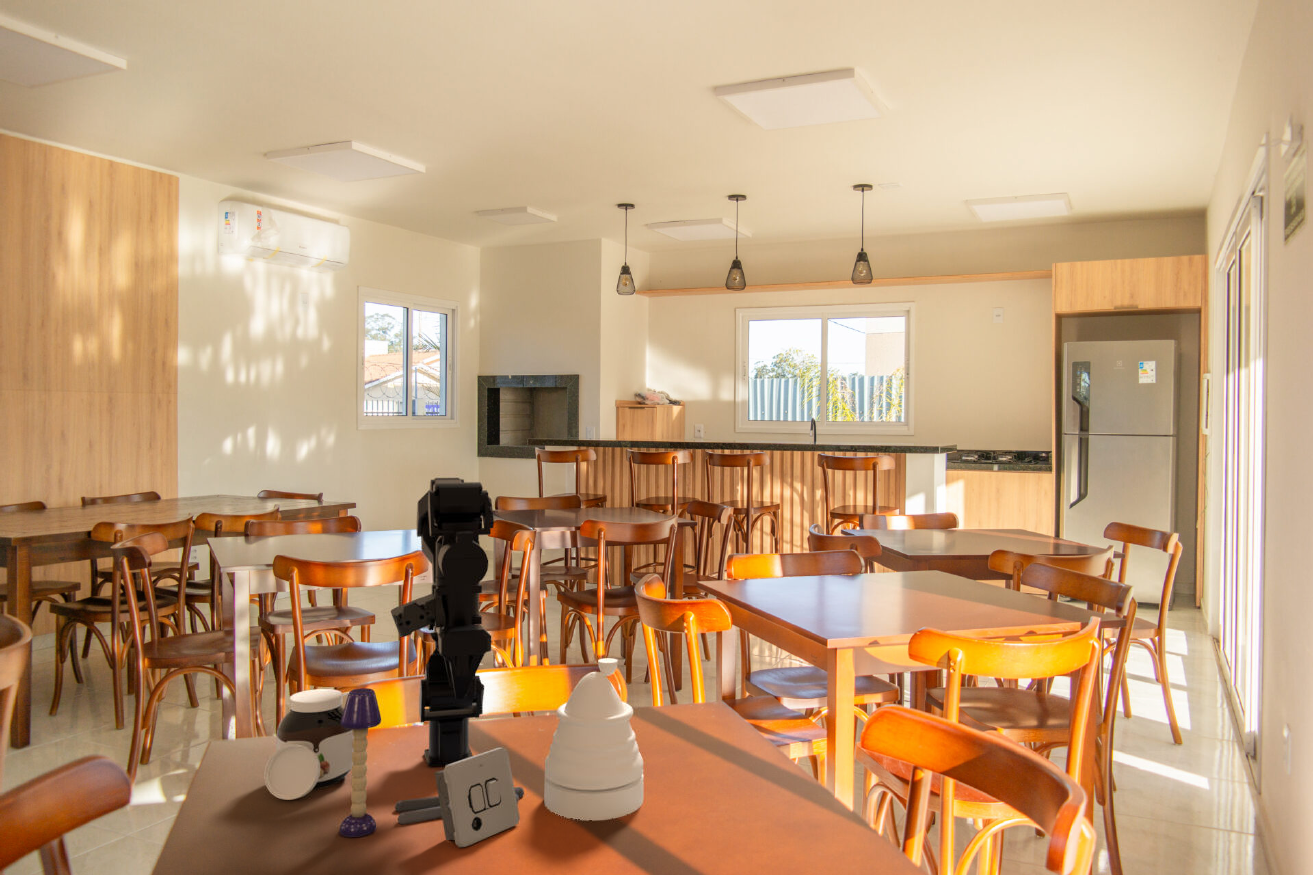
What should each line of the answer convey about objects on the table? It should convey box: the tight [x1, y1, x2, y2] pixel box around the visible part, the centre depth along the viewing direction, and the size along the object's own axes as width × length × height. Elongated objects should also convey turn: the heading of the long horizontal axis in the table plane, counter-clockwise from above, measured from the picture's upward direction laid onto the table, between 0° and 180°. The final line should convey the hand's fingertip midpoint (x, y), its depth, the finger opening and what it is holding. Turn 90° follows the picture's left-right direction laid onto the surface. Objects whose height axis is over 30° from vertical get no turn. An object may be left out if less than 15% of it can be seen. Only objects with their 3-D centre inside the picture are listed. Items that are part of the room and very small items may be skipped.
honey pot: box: [543, 657, 644, 822], centre depth 122 cm, size 13×13×18 cm
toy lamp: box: [339, 687, 382, 838], centre depth 113 cm, size 5×5×17 cm
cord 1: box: [394, 786, 525, 813], centre depth 121 cm, size 1×16×1 cm, turn 109°
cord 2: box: [397, 794, 520, 825], centre depth 118 cm, size 1×15×1 cm, turn 117°
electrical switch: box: [434, 747, 521, 848], centre depth 113 cm, size 9×5×9 cm, turn 141°
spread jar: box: [263, 688, 354, 801], centre depth 127 cm, size 12×11×12 cm
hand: (457, 692), depth 125 cm, fingers open, 6 cm apart
